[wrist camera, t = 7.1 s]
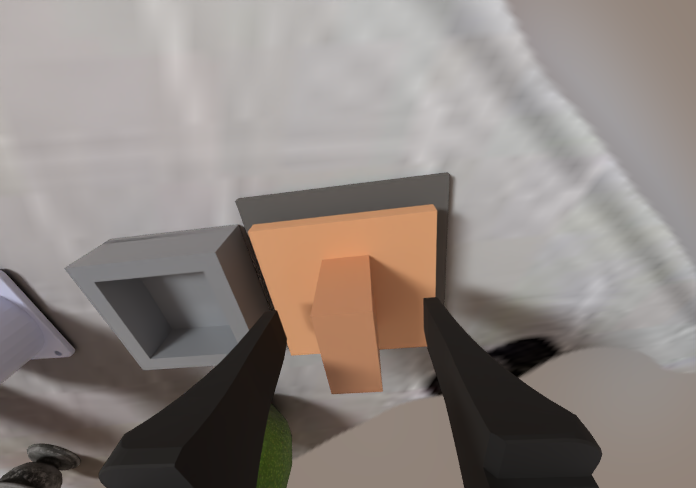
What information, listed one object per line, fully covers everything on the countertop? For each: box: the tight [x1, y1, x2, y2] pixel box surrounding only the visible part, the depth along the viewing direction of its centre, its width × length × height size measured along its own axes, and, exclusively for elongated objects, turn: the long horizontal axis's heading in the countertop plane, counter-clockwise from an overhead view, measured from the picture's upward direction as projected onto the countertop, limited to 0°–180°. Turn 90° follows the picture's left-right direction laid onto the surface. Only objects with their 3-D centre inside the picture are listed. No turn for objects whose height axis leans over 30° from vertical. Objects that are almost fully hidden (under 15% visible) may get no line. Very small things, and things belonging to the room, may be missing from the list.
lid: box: [248, 204, 437, 394], centre depth 14 cm, size 9×9×6 cm
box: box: [64, 225, 270, 370], centre depth 17 cm, size 8×8×3 cm
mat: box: [235, 173, 450, 344], centre depth 17 cm, size 11×11×1 cm
